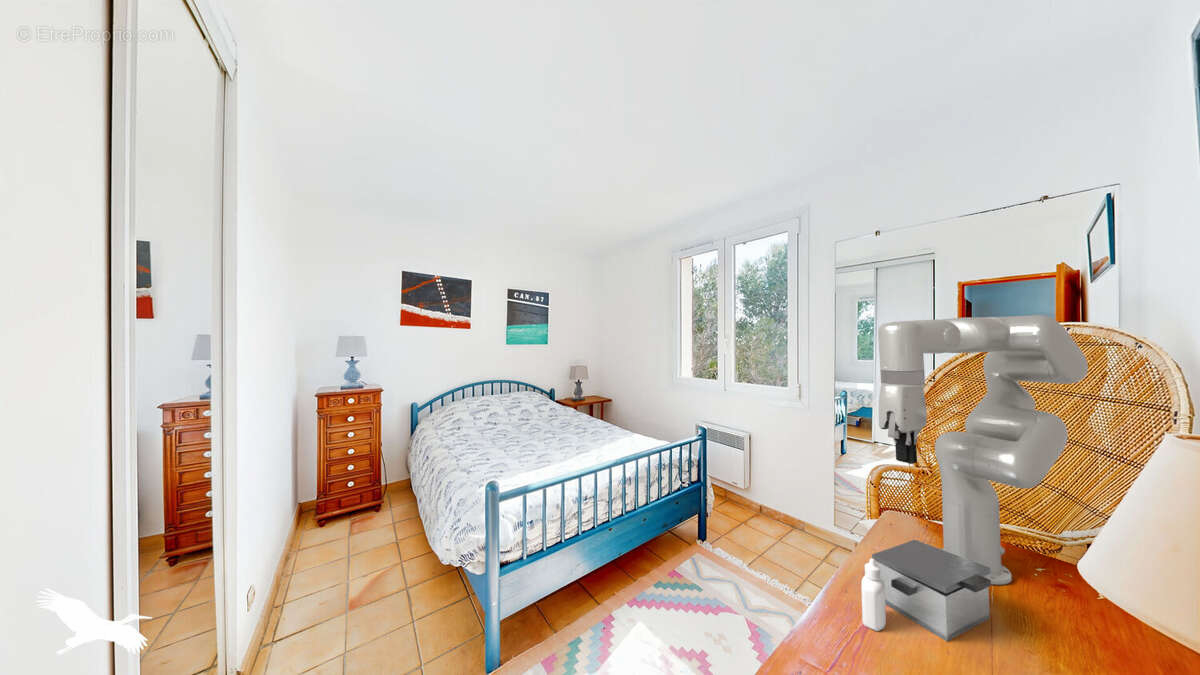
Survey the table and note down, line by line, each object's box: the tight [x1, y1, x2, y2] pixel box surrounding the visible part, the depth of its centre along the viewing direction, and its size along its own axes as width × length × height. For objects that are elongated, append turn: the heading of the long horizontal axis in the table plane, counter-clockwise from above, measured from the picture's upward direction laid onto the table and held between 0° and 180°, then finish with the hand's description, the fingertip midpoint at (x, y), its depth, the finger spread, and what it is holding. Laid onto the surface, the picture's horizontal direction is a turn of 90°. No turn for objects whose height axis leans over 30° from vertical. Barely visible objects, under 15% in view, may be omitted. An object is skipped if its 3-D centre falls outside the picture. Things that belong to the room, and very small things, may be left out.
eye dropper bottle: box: [860, 557, 887, 632], centre depth 71 cm, size 4×6×12 cm
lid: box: [871, 539, 992, 594], centre depth 73 cm, size 15×15×1 cm
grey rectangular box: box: [875, 561, 991, 642], centre depth 74 cm, size 19×12×8 cm, turn 111°
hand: (906, 461), depth 81 cm, fingers closed
